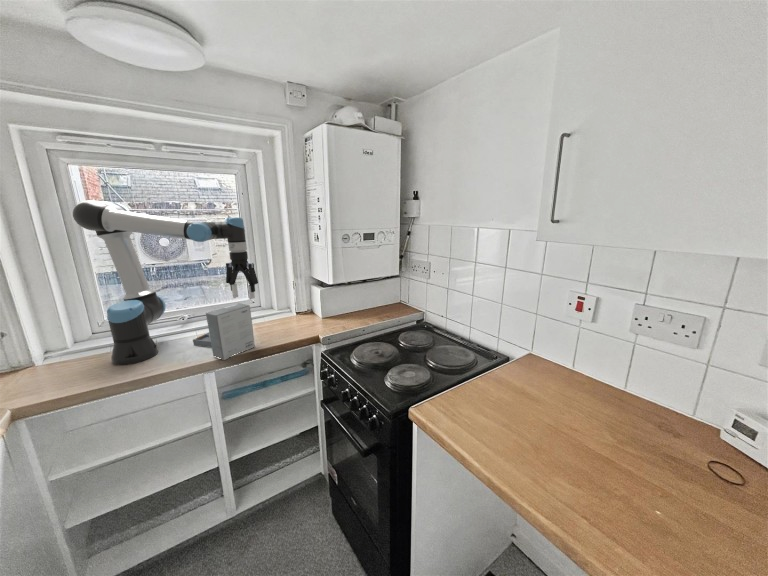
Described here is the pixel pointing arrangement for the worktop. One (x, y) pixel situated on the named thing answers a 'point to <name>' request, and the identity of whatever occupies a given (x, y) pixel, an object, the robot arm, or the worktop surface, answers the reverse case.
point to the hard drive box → (230, 330)
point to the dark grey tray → (202, 340)
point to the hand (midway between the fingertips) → (243, 297)
